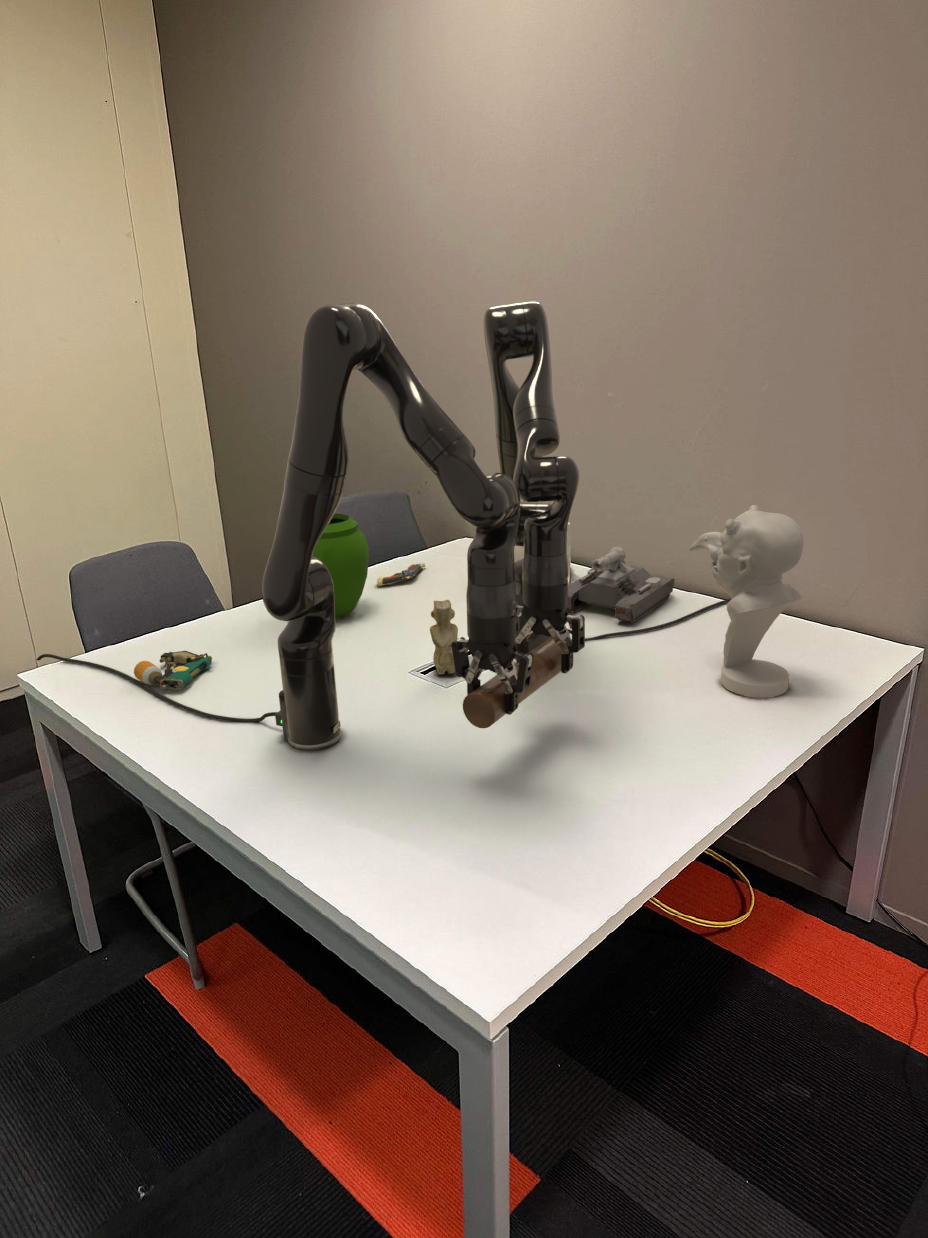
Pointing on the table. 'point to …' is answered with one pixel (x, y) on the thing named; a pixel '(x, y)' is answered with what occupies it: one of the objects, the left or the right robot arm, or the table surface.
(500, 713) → the rod
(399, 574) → the toy gun
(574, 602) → the toy
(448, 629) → the sculpture
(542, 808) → the table surface
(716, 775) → the table surface
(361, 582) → the vase
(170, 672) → the spray gun
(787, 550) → the bust sculpture
